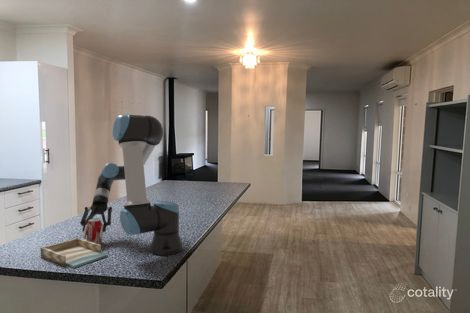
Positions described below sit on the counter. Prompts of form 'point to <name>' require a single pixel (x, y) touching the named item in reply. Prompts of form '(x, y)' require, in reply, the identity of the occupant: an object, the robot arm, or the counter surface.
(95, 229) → the soda can
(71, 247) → the truck bed
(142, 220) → the robot arm
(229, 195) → the counter surface
